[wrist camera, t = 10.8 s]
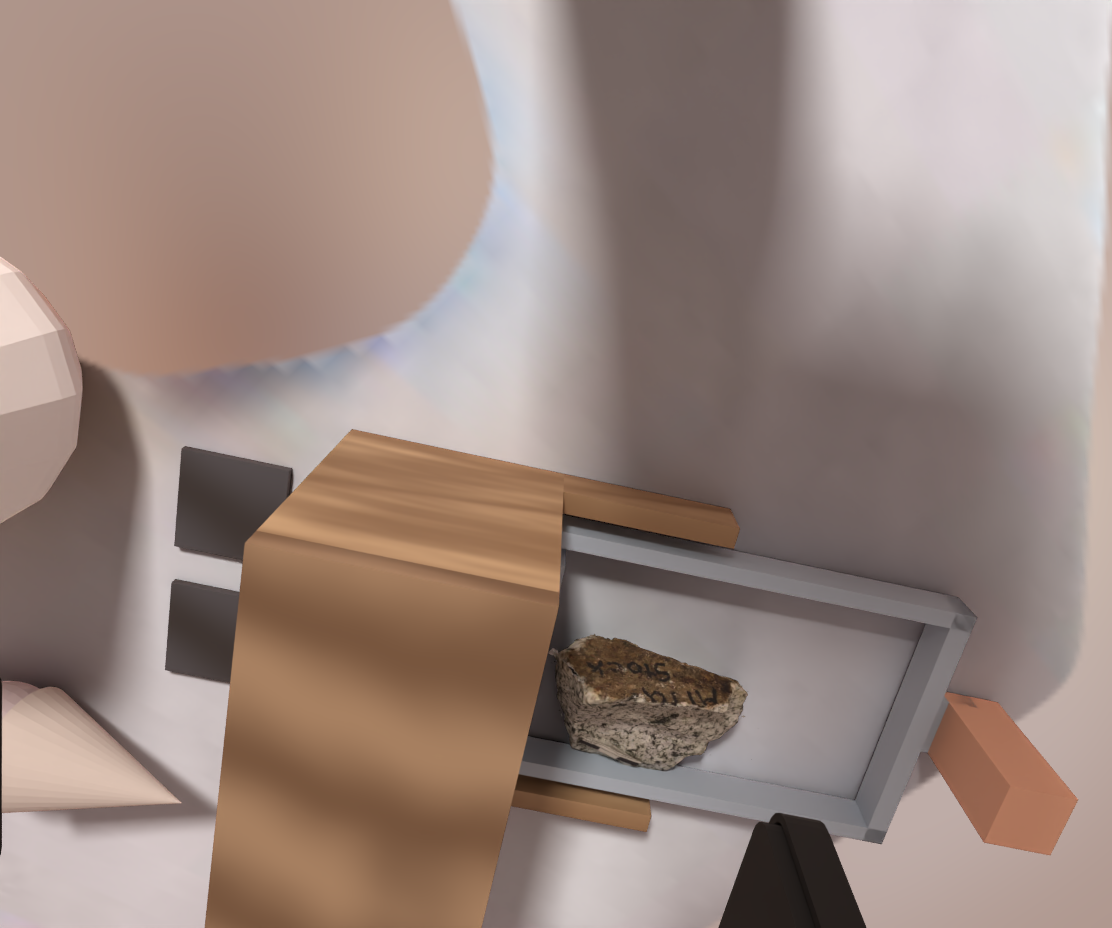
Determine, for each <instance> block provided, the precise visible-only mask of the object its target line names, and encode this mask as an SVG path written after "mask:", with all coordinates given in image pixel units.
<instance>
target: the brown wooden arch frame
mask: <svg viewBox="0 0 1112 928" xmlns="http://www.w3.org/2000/svg"><path fill="white" fill-rule="evenodd" d="M291 473H292V468H288V467H283V466H278V465H273V464H269V463H264V462H259V461H254V460H249V459H245V458H240V457H235V456H230V455H225V454H220V453H216V452H211V451H206V450H201V449H196V448H192V447H187V446H185V447H184V448H182V451H181V464H180V477H179V491H178V504H177V517H176V531H175V544H174V546H177V547H182V548H187V549H192V550H197V551H202V552H206V553H211V554H216V555H221V556H226V557H231V558H236V559H241V560H243V565H242V574H241V584H240V592H237V591H232V590H227V589H222V588H217V587H212V586H207V585H202V584H197V583H192V582H187V581H182V580H177V579H175V580H174V581H173V582H172V584H171V598H170V611H169V624H168V638H167V651H166V665H165V670H167V671H172V672H178V673H183V674H188V675H193V676H198V677H203V678H208V679H213V680H219V681H224V682H229V683H230V690H229V699H228V709H227V719H226V728H225V738H224V747H223V757H222V767H221V776H220V786H219V795H218V805H217V815H216V824H215V834H214V843H213V853H212V863H211V872H210V882H209V892H208V901H207V911H206V920H205V928H481V927H482V923H483V919H484V915H485V911H486V906H487V902H488V898H489V894H490V890H491V886H492V882H493V878H494V873H495V869H496V865H497V861H498V857H499V853H500V849H501V844H502V840H503V836H504V832H505V828H506V824H507V820H508V815H509V811H510V807H511V806H513V807H519V808H524V809H529V810H534V811H540V812H545V813H550V814H555V815H560V816H566V817H571V818H576V819H581V820H587V821H592V822H597V823H602V824H607V825H613V826H618V827H623V828H628V829H634V830H639V831H644V832H647V828H648V825H649V822H650V819H651V810H650V802H649V799H645V798H640V797H635V796H630V795H624V794H619V793H614V792H609V791H604V790H599V789H593V788H588V787H583V786H578V785H573V784H568V783H562V782H557V781H552V780H547V779H542V778H536V777H531V776H526V775H521V774H519V770H520V766H521V762H522V757H523V753H524V749H525V745H526V741H527V737H528V733H529V728H530V724H531V720H532V716H533V712H534V708H535V704H536V699H537V695H538V691H539V687H540V683H541V679H542V675H543V670H544V666H545V662H546V658H547V654H548V650H549V646H550V641H551V637H552V633H553V629H554V625H555V621H556V617H557V612H558V608H559V590H560V565H561V540H562V515H563V513H564V514H569V515H573V516H578V517H583V518H588V519H593V520H597V521H602V522H607V523H612V524H617V525H621V526H626V527H631V528H636V529H641V530H645V531H650V532H655V533H660V534H665V535H669V536H674V537H679V538H684V539H689V540H693V541H698V542H703V543H708V544H713V545H717V546H722V547H727V548H732V549H734V547H735V543H736V540H737V537H738V534H739V530H740V528H739V526H738V524H737V521H736V519H735V517H734V515H733V513H732V511H731V509H728V508H723V507H719V506H714V505H709V504H704V503H700V502H695V501H690V500H685V499H681V498H676V497H671V496H666V495H662V494H657V493H652V492H647V491H643V490H638V489H633V488H628V487H624V486H619V485H614V484H609V483H605V482H600V481H595V480H590V479H586V478H581V477H576V476H571V475H567V474H562V473H557V472H552V471H548V470H543V469H538V468H533V467H529V466H524V465H519V464H514V463H510V462H505V461H500V460H495V459H491V458H486V457H481V456H476V455H472V454H467V453H462V452H457V451H453V450H448V449H443V448H438V447H434V446H429V445H424V444H419V443H415V442H410V441H405V440H400V439H396V438H391V437H386V436H381V435H377V434H372V433H367V432H362V431H358V430H353V429H352V430H351V431H350V432H349V433H348V434H347V435H346V436H345V437H344V438H343V439H342V440H341V441H340V442H339V444H338V445H337V446H336V447H335V448H334V449H333V450H332V451H331V452H330V453H329V454H328V455H327V456H326V457H325V458H324V459H323V461H322V462H321V463H320V464H319V465H318V466H317V467H316V468H315V469H314V470H313V471H312V472H311V473H310V474H309V475H308V476H307V477H306V479H305V480H304V481H303V482H302V483H301V484H300V485H299V486H298V487H297V488H296V489H295V490H294V491H293V492H292V493H291V494H290V496H289V489H290V481H291Z"/></svg>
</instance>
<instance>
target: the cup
mask: <svg viewBox="0 0 1112 928" xmlns="http://www.w3.org/2000/svg"><path fill="white" fill-rule="evenodd" d="M82 391H83V387H82V369H81V366H80V362H79V359H78V356H77V352H76V349H75V346H74V342H73V339H72V336H71V332H70V330H69V328H68V327H67V326H66V324H65V323H64V322H63V321H62V319H61V318H60V316H59V315H58V313H57V312H56V311H55V309H54V308H53V307H52V305H51V304H50V303H49V301H48V300H47V298H46V297H45V296H44V294H43V293H42V292H41V291H40V290H39V289H38V288H37V287H36V286H35V285H34V284H33V283H32V282H31V281H30V280H29V279H28V278H27V276H26V275H25V274H24V273H23V272H21V271H20V270H18V269H17V268H15V267H14V266H13V265H11V264H10V263H8V262H7V261H6V260H4V259H3V258H1V257H0V523H2V522H4V521H5V520H7V519H9V518H11V517H12V516H14V515H16V514H17V513H19V512H21V511H22V510H24V509H26V508H28V507H29V506H31V505H33V504H34V503H36V502H38V501H39V500H41V499H42V498H43V497H44V496H45V494H46V493H47V492H48V491H49V490H50V488H51V486H52V485H53V483H54V482H55V480H56V479H57V477H58V475H59V474H60V472H61V471H62V469H63V467H64V466H65V464H66V463H67V461H68V459H69V458H70V456H71V455H72V453H73V451H74V450H75V448H76V447H77V439H78V430H79V420H80V410H81V401H82Z"/></svg>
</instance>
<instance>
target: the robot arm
mask: <svg viewBox="0 0 1112 928" xmlns="http://www.w3.org/2000/svg"><path fill="white" fill-rule="evenodd" d="M1 848H2V681H1V678H0V855H1ZM719 928H866V925H865V923H864V921H863V918H862V915H861V913H860V910H859V908H858V905H857V903H856V900H855V898H854V895H853V893H852V890H851V888H850V885H849V883H848V880H847V878H846V875H845V872H844V870H843V868H842V865H841V862H840V860H839V857H838V855H837V852H836V850H835V847H834V845H833V842H832V840H831V837H830V834H829V832H828V830H827V828H826V826H825V824H824V823H823V822H821V821H820V820H814V819H809V818H804V817H799V816H794V815H789V814H783V813H775V814H774V815H773V816H772V817H771V819H770V821H769V823H765V822H758V823H757V825H756V826H755V828H754V830H753V833H752V836H751V839H750V841H749V844H748V847H747V850H746V853H745V855H744V858H743V861H742V864H741V867H740V869H739V872H738V875H737V878H736V880H735V883H734V886H733V889H732V892H731V894H730V897H729V900H728V903H727V906H726V908H725V911H724V914H723V917H722V919H721V922H720V925H719Z"/></svg>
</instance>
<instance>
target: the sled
mask: <svg viewBox="0 0 1112 928" xmlns="http://www.w3.org/2000/svg"><path fill="white" fill-rule="evenodd" d="M566 549H568V550H572V551H577V552H582V553H587V554H592V555H597V556H602V557H606V558H611V559H616V560H621V561H626V562H631V563H635V564H640V565H645V566H650V567H655V568H660V569H665V570H669V571H674V572H679V573H684V574H689V575H694V576H698V577H703V578H708V579H713V580H718V581H723V582H728V583H732V584H737V585H742V586H747V587H752V588H757V589H761V590H766V591H771V592H776V593H781V594H786V595H791V596H795V597H800V598H805V599H810V600H815V601H820V602H824V603H829V604H834V605H839V606H844V607H849V608H854V609H858V610H863V611H868V612H873V613H878V614H883V615H887V616H892V617H897V618H902V619H907V620H912V621H917V622H921V623H926V625H925V627H924V630H923V632H922V635H921V637H920V640H919V642H918V645H917V647H916V650H915V652H914V655H913V657H912V660H911V662H910V665H909V667H908V670H907V672H906V675H905V677H904V680H903V682H902V684H901V687H900V689H899V692H898V694H897V697H896V699H895V702H894V704H893V707H892V709H891V712H890V714H889V717H888V719H887V722H886V724H885V727H884V729H883V732H882V734H881V737H880V739H879V742H878V744H877V747H876V749H875V752H874V754H873V757H872V759H871V762H870V764H869V767H868V769H867V772H866V774H865V777H864V779H863V782H862V784H861V787H860V789H859V792H858V794H857V797H856V799H855V800H851V799H846V798H841V797H836V796H830V795H825V794H820V793H815V792H810V791H805V790H800V789H795V788H790V787H784V786H779V785H774V784H769V783H764V782H759V781H754V780H749V779H744V778H738V777H733V776H728V775H723V774H718V773H713V772H708V771H703V770H698V769H692V768H687V767H682V766H677V765H675V766H674V767H672V768H670V769H668V770H665V771H661V770H653V769H645V768H642V767H636V766H627V765H623V764H622V763H620V762H619V761H616V760H614V759H611V758H608V757H606V756H603V755H599V754H590V753H588V752H585V751H581V750H577V749H574V748H572V747H571V745H570V744H565V743H559V742H554V741H549V740H544V739H539V738H534V737H529V736H528V737H527V741H526V745H525V749H524V753H523V757H522V762H521V766H520V770H519V774H521V775H526V776H531V777H536V778H542V779H547V780H552V781H557V782H562V783H568V784H573V785H578V786H583V787H588V788H593V789H599V790H604V791H609V792H614V793H619V794H624V795H630V796H635V797H640V798H645V799H650V800H655V801H661V802H666V803H671V804H676V805H681V806H686V807H692V808H697V809H702V810H707V811H712V812H717V813H723V814H728V815H733V816H738V817H743V818H749V819H754V820H759V821H764V822H769V821H770V819H771V817H772V816H773V815H774V814H775V813H783V814H789V815H794V816H799V817H804V818H809V819H814V820H820V821H821V822H823V823H824V824H825V826H826V828H827V830H828V832H829V834H831V835H836V836H842V837H847V838H852V839H857V840H862V841H868V842H873V843H878V844H882V842H883V840H884V837H885V835H886V833H887V830H888V828H889V825H890V823H891V820H892V818H893V816H894V814H895V811H896V809H897V806H898V804H899V802H900V799H901V797H902V795H903V792H904V790H905V788H906V785H907V783H908V780H909V778H910V776H911V773H912V771H913V769H914V766H915V764H916V762H917V759H918V757H919V754H920V752H926V753H928V754H929V756H930V757H931V759H932V761H933V762H934V764H935V765H936V767H937V769H938V770H939V772H940V773H941V775H942V777H943V778H944V780H945V781H946V783H947V784H948V786H949V787H950V789H951V791H952V792H953V794H954V795H955V797H956V799H957V800H958V802H959V804H960V805H961V807H962V808H963V810H964V812H965V813H966V815H967V816H968V818H969V820H970V821H971V823H972V824H973V826H974V827H975V829H976V831H977V832H978V834H979V835H980V837H981V839H982V840H983V842H984V843H989V844H994V845H999V846H1005V847H1010V848H1015V849H1020V850H1025V851H1030V852H1035V853H1041V854H1046V855H1051V853H1052V851H1053V849H1054V846H1055V845H1056V843H1057V841H1058V839H1059V837H1060V835H1061V833H1062V831H1063V829H1064V827H1065V825H1066V823H1067V821H1068V819H1069V817H1070V815H1071V813H1072V811H1073V809H1074V807H1075V805H1076V803H1077V801H1078V799H1077V798H1076V796H1075V795H1074V794H1073V793H1072V792H1071V790H1069V788H1068V787H1067V786H1066V784H1065V783H1064V782H1063V781H1062V780H1061V779H1060V777H1059V776H1058V775H1057V773H1056V772H1055V771H1054V770H1053V769H1052V767H1051V766H1050V765H1049V764H1048V763H1047V761H1046V760H1045V759H1044V758H1043V757H1042V756H1041V754H1040V753H1039V752H1038V751H1037V749H1036V748H1035V747H1034V746H1033V745H1032V743H1031V742H1030V741H1029V740H1028V738H1027V737H1026V736H1025V735H1024V734H1023V732H1022V731H1021V730H1020V729H1019V728H1018V726H1017V725H1016V724H1015V723H1014V721H1013V720H1012V719H1011V718H1010V717H1009V715H1008V714H1007V713H1006V712H1005V711H1004V709H1003V708H1002V707H1001V706H1000V705H999V703H998V702H993V701H988V700H983V699H979V698H974V697H969V696H964V695H959V694H954V693H949V692H946V691H947V688H948V686H949V683H950V681H951V679H952V676H953V674H954V672H955V669H956V667H957V665H958V662H959V660H960V657H961V655H962V653H963V650H964V648H965V646H966V643H967V641H968V639H969V636H970V634H971V631H972V629H973V627H974V624H975V622H976V620H977V617H976V616H975V615H974V614H973V612H972V611H971V610H970V609H969V608H968V607H967V606H966V605H965V604H964V603H963V602H962V601H961V600H960V599H959V598H958V597H954V596H950V595H945V594H940V593H935V592H930V591H926V590H921V589H916V588H911V587H906V586H902V585H897V584H892V583H887V582H882V581H878V580H873V579H868V578H863V577H858V576H854V575H849V574H844V573H839V572H834V571H830V570H825V569H820V568H815V567H810V566H806V565H801V564H796V563H791V562H786V561H782V560H777V559H772V558H767V557H762V556H758V555H753V554H748V553H743V552H738V551H734V550H729V549H724V548H719V547H714V546H710V545H705V544H700V543H695V542H690V541H686V540H681V539H676V538H671V537H666V536H662V535H657V534H652V533H647V532H642V531H637V530H633V529H628V528H623V527H618V526H613V525H609V524H604V523H599V522H594V521H589V520H585V519H580V518H575V517H570V516H565V515H562V540H561V565H560V588H561V584H562V580H563V576H564V571H565V567H566ZM559 592H560V590H559Z"/></svg>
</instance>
